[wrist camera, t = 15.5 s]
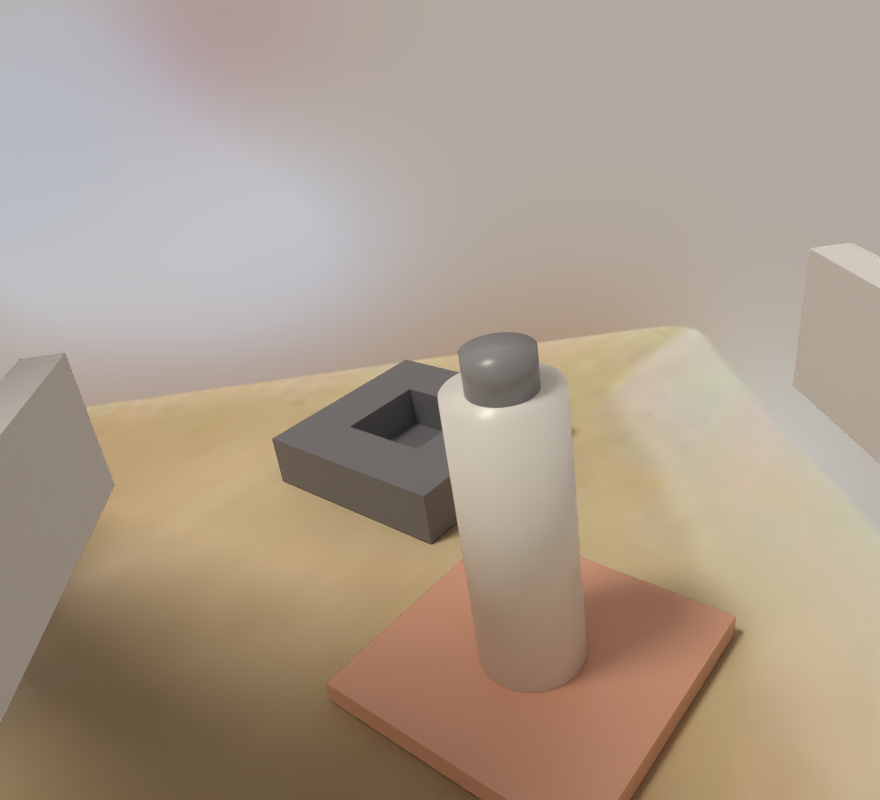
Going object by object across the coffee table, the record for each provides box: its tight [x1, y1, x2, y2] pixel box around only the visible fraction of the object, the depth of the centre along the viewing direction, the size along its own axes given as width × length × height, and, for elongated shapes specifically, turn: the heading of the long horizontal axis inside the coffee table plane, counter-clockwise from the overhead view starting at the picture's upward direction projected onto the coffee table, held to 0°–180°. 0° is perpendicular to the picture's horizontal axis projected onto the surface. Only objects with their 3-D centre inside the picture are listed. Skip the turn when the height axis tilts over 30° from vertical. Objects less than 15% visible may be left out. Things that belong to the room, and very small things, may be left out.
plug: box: [437, 332, 587, 693], centre depth 29 cm, size 4×4×14 cm
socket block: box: [272, 360, 459, 544], centre depth 47 cm, size 12×12×3 cm
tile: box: [326, 558, 736, 800], centre depth 32 cm, size 12×12×1 cm
